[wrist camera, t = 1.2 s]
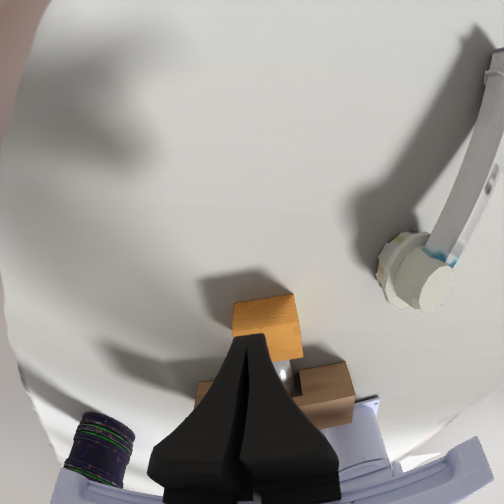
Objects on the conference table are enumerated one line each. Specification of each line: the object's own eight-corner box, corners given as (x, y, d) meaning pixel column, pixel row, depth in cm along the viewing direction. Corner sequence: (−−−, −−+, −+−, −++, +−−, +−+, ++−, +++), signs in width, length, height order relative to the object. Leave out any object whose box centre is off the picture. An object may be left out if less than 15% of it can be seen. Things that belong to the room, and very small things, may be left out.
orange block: (234, 303, 24) (231, 332, 21) (293, 293, 24) (298, 321, 20) (259, 386, 29) (260, 413, 26) (305, 380, 29) (309, 406, 26)
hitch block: (343, 392, 30) (351, 422, 26) (213, 409, 32) (210, 440, 28) (345, 361, 28) (355, 395, 23) (198, 381, 29) (192, 415, 25)
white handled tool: (540, 82, 10) (438, 341, 17) (494, 85, 17) (400, 301, 24) (509, 38, 9) (397, 324, 16) (463, 50, 16) (359, 280, 23)
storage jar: (71, 409, 35) (44, 479, 22) (113, 413, 34) (87, 496, 21) (104, 438, 39) (86, 502, 26) (146, 443, 38) (130, 516, 25)
